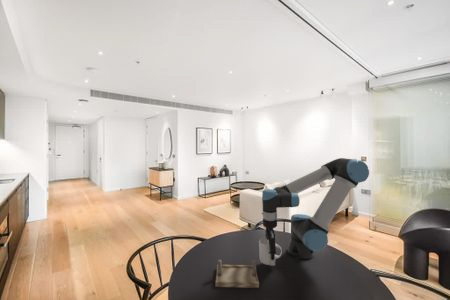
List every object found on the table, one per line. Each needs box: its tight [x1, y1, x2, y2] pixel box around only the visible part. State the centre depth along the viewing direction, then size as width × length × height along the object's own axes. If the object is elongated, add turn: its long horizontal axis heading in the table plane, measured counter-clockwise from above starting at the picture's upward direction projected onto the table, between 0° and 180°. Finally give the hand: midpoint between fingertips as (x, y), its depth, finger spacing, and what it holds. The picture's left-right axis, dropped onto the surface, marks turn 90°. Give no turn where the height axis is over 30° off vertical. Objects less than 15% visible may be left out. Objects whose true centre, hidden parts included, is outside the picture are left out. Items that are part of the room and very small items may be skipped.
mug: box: [258, 237, 283, 266], centre depth 111 cm, size 9×12×11 cm
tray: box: [215, 259, 260, 289], centre depth 101 cm, size 20×14×8 cm
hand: (270, 259), depth 111 cm, fingers closed on mug, 9 cm apart
